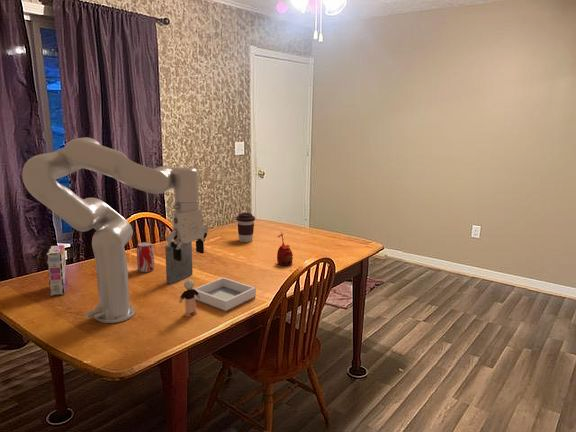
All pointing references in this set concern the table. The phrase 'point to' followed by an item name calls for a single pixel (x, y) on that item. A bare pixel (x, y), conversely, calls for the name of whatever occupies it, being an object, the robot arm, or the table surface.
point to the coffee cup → (245, 227)
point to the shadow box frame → (225, 294)
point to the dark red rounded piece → (284, 254)
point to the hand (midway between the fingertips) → (189, 256)
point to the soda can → (145, 257)
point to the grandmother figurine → (189, 298)
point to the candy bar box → (57, 270)
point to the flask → (178, 263)
